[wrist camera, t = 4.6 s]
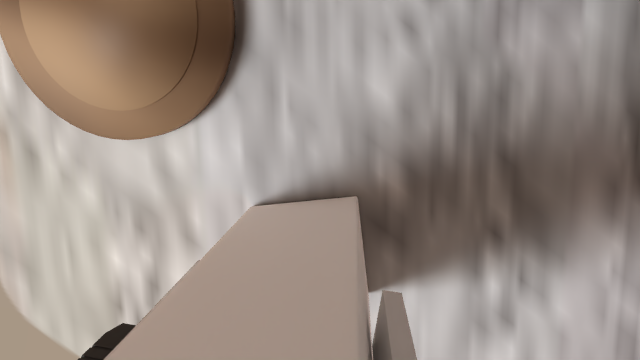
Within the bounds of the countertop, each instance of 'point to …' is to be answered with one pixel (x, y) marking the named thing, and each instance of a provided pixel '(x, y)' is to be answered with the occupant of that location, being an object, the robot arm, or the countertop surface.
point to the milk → (268, 292)
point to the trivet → (121, 59)
